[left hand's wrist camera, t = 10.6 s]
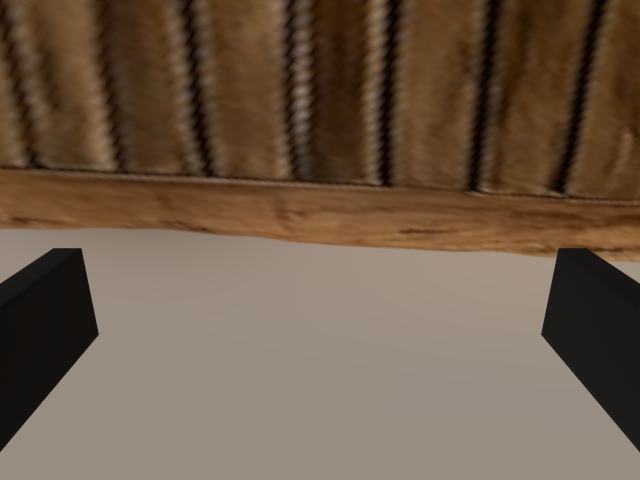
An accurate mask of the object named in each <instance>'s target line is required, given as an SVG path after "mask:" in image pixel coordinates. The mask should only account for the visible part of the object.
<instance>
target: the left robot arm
mask: <svg viewBox="0 0 640 480" xmlns="http://www.w3.org/2000/svg"><path fill="white" fill-rule="evenodd" d="M98 335H99V333H98V328H97V323H96V318H95V313H94V308H93V303H92V298H91V294H90V289H89V284H88V279H87V274H86V269H85V264H84V259H83V254H82V249H81V248H53V249H52V250H50V251H49V252H47V253H46V254H44V255H43V256H41V257H40V258H38V259H37V260H35V261H34V262H32V263H31V264H29V265H28V266H26V267H25V268H23V269H22V270H20V271H19V272H17V273H16V274H14V275H13V276H11V277H10V278H8V279H7V280H5V281H3V282H2V283H0V452H1V450H2V449H3V448H4V447H5V446H6V445H7V443H8V442H9V441H10V440H11V439H12V437H13V436H14V435H15V434H16V433H17V431H18V430H19V429H20V428H21V427H22V426H23V424H24V423H25V422H26V421H27V420H28V418H29V417H30V416H31V415H32V414H33V412H34V411H35V410H36V409H37V408H38V406H39V405H40V404H41V403H42V402H43V400H44V399H45V398H46V397H47V396H48V395H49V393H50V392H51V391H52V390H53V389H54V387H55V386H56V385H57V384H58V383H59V381H60V380H61V379H62V378H63V377H64V375H65V374H66V373H67V372H68V371H69V370H70V368H71V367H72V366H73V365H74V364H75V362H76V361H77V360H78V359H79V358H80V356H81V355H82V354H83V353H84V352H85V350H86V349H87V348H88V347H89V346H90V345H91V343H92V342H93V341H94V340H95V339H96V337H97V336H98ZM541 335H542V336H543V337H544V339H545V340H546V341H547V342H548V343H549V344H550V346H551V347H552V348H553V349H554V350H555V352H556V353H557V354H558V355H559V356H560V358H561V359H562V360H563V361H564V362H565V364H566V365H567V366H568V367H569V368H570V370H571V371H572V372H573V373H574V374H575V375H576V377H577V378H578V379H579V380H580V381H581V383H582V384H583V385H584V386H585V387H586V389H587V390H588V391H589V392H590V393H591V395H592V396H593V397H594V398H595V399H596V401H597V402H598V403H599V404H600V405H601V406H602V408H603V409H604V410H605V411H606V412H607V414H608V415H609V416H610V417H611V418H612V420H613V421H614V422H615V423H616V424H617V426H618V427H619V428H620V429H621V430H622V431H623V433H624V434H625V435H626V436H627V437H628V439H629V440H630V441H631V442H632V443H633V445H634V446H635V447H636V448H637V449H638V451H639V452H640V283H638V282H637V281H635V280H633V279H632V278H630V277H629V276H627V275H626V274H624V273H623V272H621V271H620V270H618V269H617V268H615V267H614V266H612V265H611V264H609V263H608V262H606V261H605V260H603V259H602V258H600V257H599V256H597V255H596V254H594V253H593V252H591V251H590V250H588V249H587V248H559V249H558V254H557V259H556V264H555V269H554V274H553V279H552V284H551V289H550V294H549V298H548V303H547V308H546V313H545V318H544V323H543V328H542V333H541Z"/></svg>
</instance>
